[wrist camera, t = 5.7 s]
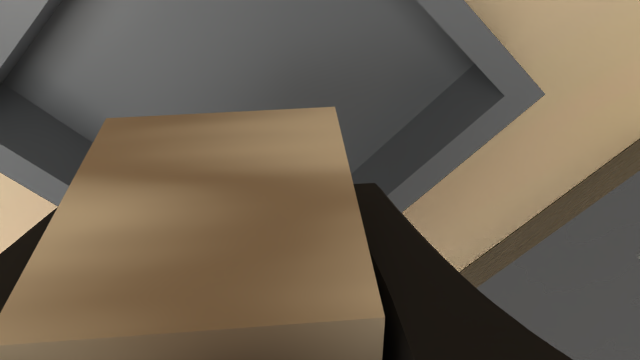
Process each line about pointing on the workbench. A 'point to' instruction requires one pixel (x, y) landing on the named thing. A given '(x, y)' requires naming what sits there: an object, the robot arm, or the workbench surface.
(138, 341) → the block
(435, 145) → the tray
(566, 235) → the crank base
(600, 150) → the workbench surface
